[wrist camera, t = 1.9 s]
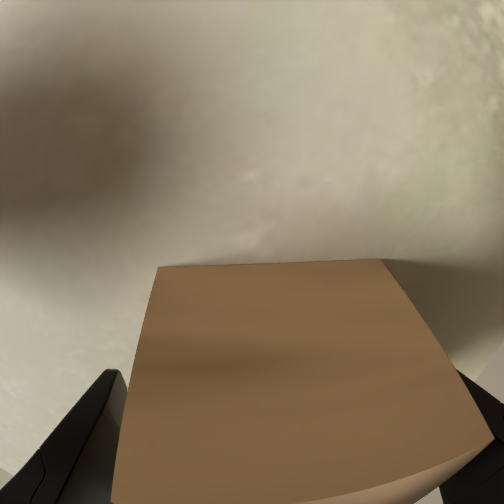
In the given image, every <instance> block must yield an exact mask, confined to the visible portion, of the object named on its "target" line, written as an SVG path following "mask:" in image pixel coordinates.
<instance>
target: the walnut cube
mask: <svg viewBox="0 0 504 504" xmlns="http://www.w3.org/2000/svg"><path fill="white" fill-rule="evenodd" d="M494 439H495V438H494V436H493V434H492V433H491V431H490V429H489V427H488V425H487V423H486V421H485V419H484V417H483V416H482V414H481V412H480V410H479V408H478V407H477V405H476V403H475V401H474V399H473V398H472V396H471V394H470V392H469V391H468V389H467V387H466V386H465V384H464V382H463V381H462V379H461V377H460V376H459V374H458V372H457V371H456V369H455V367H454V366H453V364H452V362H451V361H450V359H449V358H448V356H447V354H446V353H445V351H444V350H443V348H442V347H441V345H440V344H439V342H438V340H437V339H436V337H435V336H434V334H433V333H432V331H431V330H430V328H429V327H428V325H427V324H426V322H425V321H424V319H423V318H422V317H421V315H420V314H419V312H418V311H417V309H416V308H415V306H414V305H413V304H412V302H411V301H410V299H409V298H408V297H407V295H406V294H405V292H404V291H403V290H402V288H401V287H400V285H399V284H398V283H397V281H396V280H395V279H394V277H393V276H392V275H391V273H390V272H389V271H388V269H387V268H386V267H385V265H384V264H383V263H382V261H381V260H380V259H361V260H339V261H315V262H291V263H265V264H237V265H207V266H175V267H158V269H157V273H156V276H155V280H154V284H153V287H152V291H151V295H150V298H149V302H148V306H147V310H146V314H145V317H144V321H143V325H142V329H141V334H140V338H139V342H138V346H137V350H136V355H135V359H134V364H133V368H132V373H131V378H130V382H129V387H128V392H127V397H126V402H125V408H124V413H123V418H122V424H121V430H120V436H119V442H118V448H117V455H116V462H115V469H114V476H113V484H112V492H111V502H112V503H114V504H414V503H415V502H417V501H418V500H420V499H421V498H423V497H424V496H425V495H427V494H428V493H430V492H431V491H432V490H434V489H435V488H437V487H438V486H440V485H441V484H442V483H443V482H445V481H446V480H447V479H449V478H450V477H451V476H453V475H454V474H455V473H456V472H458V471H459V470H460V469H461V468H462V467H464V466H465V465H466V464H467V463H468V462H469V461H471V460H472V459H473V458H474V457H475V456H476V455H477V454H479V453H480V452H481V451H482V450H483V449H484V448H485V447H486V446H487V445H488V444H489V443H490V442H491V441H493V440H494Z"/></svg>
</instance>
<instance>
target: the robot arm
mask: <svg viewBox="0 0 504 504" xmlns="http://www.w3.org/2000/svg"><path fill="white" fill-rule="evenodd" d="M456 371H457V372H458V374H459V376H460V377H461V379H462V381H463V382H464V384H465V386H466V387H467V389H468V391H469V392H470V394H471V396H472V398H473V399H474V401H475V403H476V405H477V407H478V408H479V410H480V412H481V414H482V416H483V417H484V419H485V421H486V423H487V425H488V427H489V429H490V431H491V433H492V434H493V436H494V438H495V439H494V440H493V441H491V442H490V443H489V444H488V445H487V446H486V447H485V448H484V449H483V450H482V451H481V452H480V453H479V454H477V455H476V456H475V457H474V458H473V459H472V460H471V461H469V462H468V463H467V464H466V465H465V466H464V467H462V468H461V469H460V470H459V471H458V472H456V473H455V474H454V475H453V476H451V477H450V478H449V479H447V480H446V481H445V482H443V483H442V484H441V485H440V486H439V488H440V493H441V496H442V500H443V504H504V404H503V403H500V401H499V400H497V399H496V398H495V397H493V396H492V395H491V394H489V393H488V392H487V391H485V390H484V389H483V388H481V387H480V386H479V385H477V384H476V383H474V382H473V381H472V380H470V379H469V378H468V377H466V376H465V375H464V374H462V373H461V372H459V371H458V370H457V369H456ZM126 397H127V386H126V384H125V381H124V379H123V377H122V374H121V372H120V371H119V370H117V369H106V370H104V372H103V373H102V374H101V375H100V376H99V377H98V378H97V380H96V381H95V382H94V383H93V384H92V385H91V387H90V388H89V389H88V390H87V391H86V392H85V394H84V395H83V396H82V397H81V398H80V399H79V401H78V402H77V403H76V404H75V405H74V407H73V408H72V409H71V410H70V411H69V412H68V414H67V415H66V416H65V417H64V418H63V420H62V421H61V422H60V423H59V424H58V426H57V427H56V428H55V429H54V430H53V432H52V433H51V434H50V435H49V436H48V438H47V439H46V440H45V441H44V443H43V444H42V445H41V446H40V449H38V450H37V451H36V452H35V453H34V455H33V456H32V457H31V458H30V459H29V461H28V462H27V463H26V464H25V465H24V466H23V468H22V469H21V470H20V471H19V472H18V473H17V474H16V475H15V476H14V477H13V478H12V479H11V480H10V481H9V482H8V483H7V484H6V485H5V486H4V487H3V488H2V489H1V490H0V504H114V503H112V502H111V492H112V484H113V476H114V469H115V462H116V455H117V448H118V442H119V436H120V430H121V424H122V418H123V413H124V408H125V402H126Z"/></svg>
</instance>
